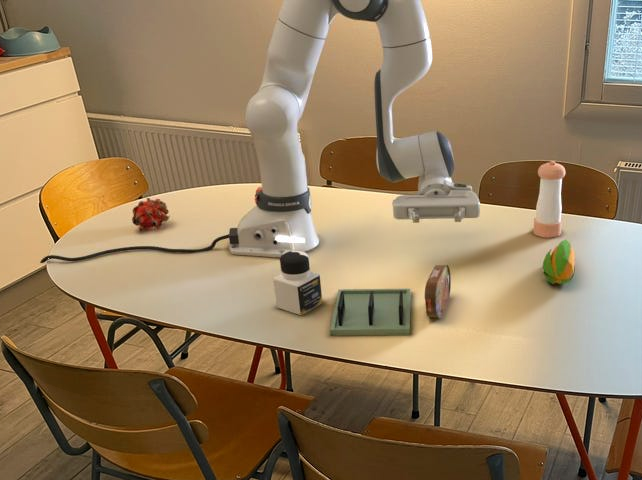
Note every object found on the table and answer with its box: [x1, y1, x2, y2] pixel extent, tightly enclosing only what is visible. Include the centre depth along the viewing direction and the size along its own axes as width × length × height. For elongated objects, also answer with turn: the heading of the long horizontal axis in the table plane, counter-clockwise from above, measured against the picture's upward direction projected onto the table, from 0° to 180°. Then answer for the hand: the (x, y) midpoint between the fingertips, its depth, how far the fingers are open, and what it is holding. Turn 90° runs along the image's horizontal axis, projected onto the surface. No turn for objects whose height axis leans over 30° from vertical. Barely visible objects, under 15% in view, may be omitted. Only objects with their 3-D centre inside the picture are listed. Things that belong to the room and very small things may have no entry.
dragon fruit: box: [131, 197, 171, 232], centre depth 198 cm, size 8×8×12 cm
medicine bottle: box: [272, 251, 323, 316], centre depth 158 cm, size 7×7×12 cm
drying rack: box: [329, 288, 412, 337], centre depth 156 cm, size 16×19×5 cm
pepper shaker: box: [533, 160, 566, 239], centre depth 193 cm, size 7×7×19 cm
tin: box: [424, 264, 452, 319], centre depth 158 cm, size 15×3×8 cm, turn 168°
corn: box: [542, 239, 576, 286], centre depth 173 cm, size 7×8×20 cm
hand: (437, 219), depth 166 cm, fingers open, 8 cm apart
